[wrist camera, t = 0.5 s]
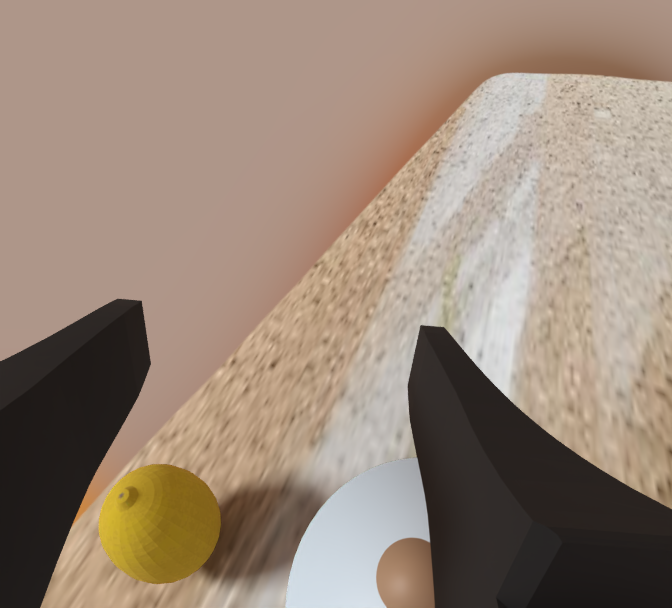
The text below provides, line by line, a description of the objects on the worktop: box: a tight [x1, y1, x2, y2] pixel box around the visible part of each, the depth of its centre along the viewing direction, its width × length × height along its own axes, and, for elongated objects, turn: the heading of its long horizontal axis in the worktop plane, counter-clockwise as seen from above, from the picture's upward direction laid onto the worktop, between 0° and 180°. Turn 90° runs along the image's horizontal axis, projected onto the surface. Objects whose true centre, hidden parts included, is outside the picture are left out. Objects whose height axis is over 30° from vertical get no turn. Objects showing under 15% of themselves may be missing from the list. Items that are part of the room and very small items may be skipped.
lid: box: [286, 457, 435, 608], centre depth 20 cm, size 12×12×4 cm
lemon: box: [99, 464, 221, 584], centre depth 26 cm, size 6×6×8 cm
